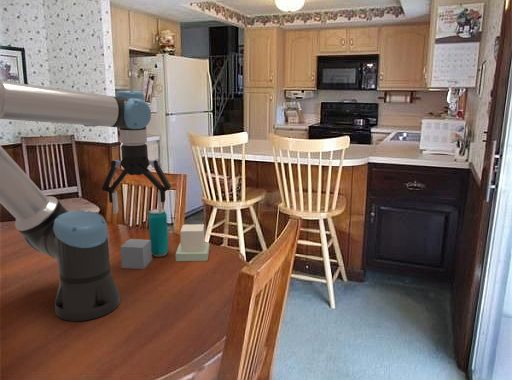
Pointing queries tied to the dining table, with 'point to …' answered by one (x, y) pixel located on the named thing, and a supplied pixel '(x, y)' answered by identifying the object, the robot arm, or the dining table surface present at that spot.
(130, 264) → the gray cube
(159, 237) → the beverage can
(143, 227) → the dining table surface
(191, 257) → the base plate
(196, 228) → the cream brick
